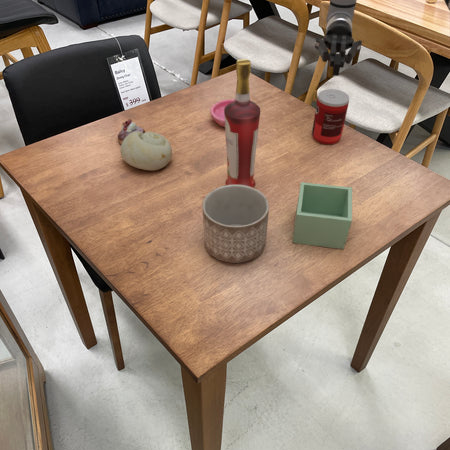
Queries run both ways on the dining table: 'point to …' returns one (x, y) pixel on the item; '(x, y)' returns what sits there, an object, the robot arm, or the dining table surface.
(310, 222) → the box
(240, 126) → the liquor
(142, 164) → the seashell
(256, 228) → the planter
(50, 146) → the dining table surface
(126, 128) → the pinkish grey lump
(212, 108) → the saucer
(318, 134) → the canned food
